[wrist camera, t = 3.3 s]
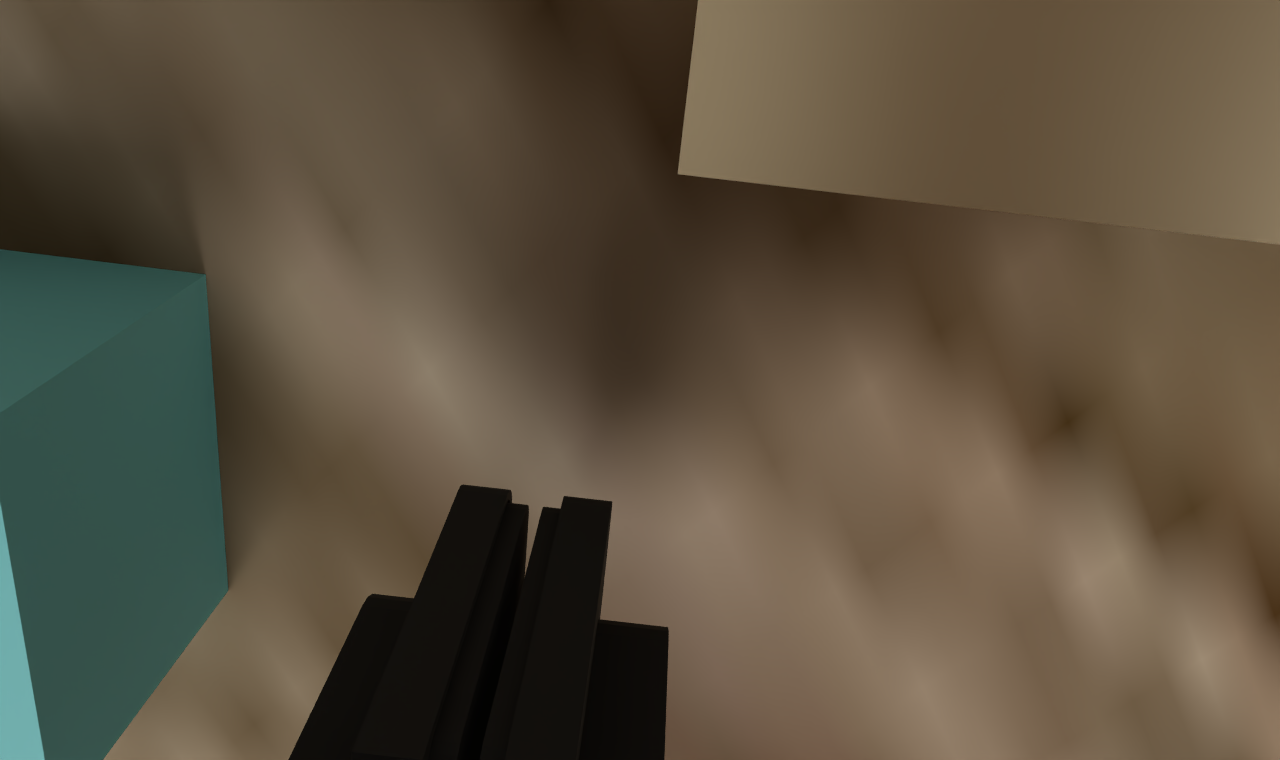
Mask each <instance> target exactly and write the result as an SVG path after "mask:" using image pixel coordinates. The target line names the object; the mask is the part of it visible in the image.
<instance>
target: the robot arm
mask: <svg viewBox="0 0 1280 760" xmlns="http://www.w3.org/2000/svg"><path fill="white" fill-rule="evenodd" d="M611 510H612V501H603V500H594V499H585V498H577V497H568V496H564V498H563V501H562V506H561V509H558V508H549V507H543V509H542V512H541V516H540V520H539V524H538V528H537V532H536V536H535V540H534V544H533V548H532V551H531V555H530V559H529V563H528V567H527V571H526V575H525V562H526V547H527V533H528V517H529V507H528V505H523V504H514V503H512V493H511V490H506V489H497V488H488V487H479V486H471V485H461V486H460V488H459V490H458V492H457V495H456V497H455V500H454V502H453V505H452V507H451V509H450V512H449V514H448V517H447V519H446V522H445V524H444V527H443V529H442V531H441V534H440V536H439V539H438V541H437V544H436V546H435V549H434V551H433V553H432V556H431V558H430V561H429V563H428V566H427V568H426V571H425V573H424V575H423V578H422V580H421V583H420V585H419V588H418V590H417V593H416V595H415V597H414V598H405V597H396V596H388V595H379V594H372V595H370V596H368V597H367V599H366V601H365V602H364V604H363V606H362V608H361V610H360V612H359V614H358V616H357V618H356V620H355V622H354V624H353V626H352V628H351V630H350V633H349V635H348V637H347V639H346V641H345V643H344V645H343V647H342V649H341V651H340V653H339V656H338V658H337V660H336V662H335V664H334V666H333V668H332V670H331V672H330V674H329V676H328V678H327V681H326V683H325V685H324V687H323V689H322V691H321V693H320V695H319V697H318V699H317V701H316V703H315V706H314V708H313V710H312V712H311V714H310V716H309V718H308V720H307V722H306V724H305V726H304V729H303V731H302V733H301V735H300V737H299V739H298V741H297V743H296V745H295V747H294V749H293V751H292V754H291V756H290V758H289V760H664V754H665V725H666V697H667V668H668V635H669V631H668V627H661V626H652V625H643V624H635V623H626V622H617V621H608V620H600V614H601V605H602V596H603V586H604V577H605V567H606V558H607V548H608V539H609V530H610V520H611ZM524 577H525V579H524Z"/></svg>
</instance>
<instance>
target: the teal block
mask: <svg viewBox="0 0 1280 760" xmlns="http://www.w3.org/2000/svg"><path fill="white" fill-rule="evenodd" d="M227 591H228V579H227V565H226V551H225V537H224V524H223V510H222V496H221V482H220V468H219V454H218V440H217V426H216V412H215V398H214V384H213V370H212V356H211V342H210V328H209V314H208V300H207V287H206V274H198V273H190V272H182V271H174V270H166V269H157V268H149V267H141V266H133V265H125V264H117V263H108V262H100V261H92V260H84V259H76V258H68V257H59V256H51V255H43V254H35V253H27V252H19V251H10V250H2V249H0V760H103V759H104V757H105V756H106V755H107V753H108V752H109V751H110V749H111V748H112V747H113V745H114V744H115V743H116V741H117V740H118V739H119V737H120V736H121V735H122V733H123V732H124V730H125V729H126V728H127V726H128V725H129V724H130V722H131V721H132V720H133V718H134V717H135V716H136V714H137V713H138V712H139V710H140V709H141V708H142V706H143V705H144V703H145V702H146V701H147V699H148V698H149V697H150V695H151V694H152V693H153V691H154V690H155V689H156V687H157V686H158V685H159V683H160V682H161V681H162V679H163V678H164V677H165V675H166V674H167V672H168V671H169V670H170V668H171V667H172V666H173V664H174V663H175V662H176V660H177V659H178V658H179V656H180V655H181V654H182V652H183V651H184V650H185V648H186V647H187V645H188V644H189V643H190V641H191V640H192V639H193V637H194V636H195V635H196V633H197V632H198V631H199V629H200V628H201V627H202V625H203V624H204V623H205V621H206V620H207V618H208V617H209V616H210V614H211V613H212V612H213V610H214V609H215V608H216V606H217V605H218V604H219V602H220V601H221V600H222V598H223V597H224V596H225V594H226V593H227Z"/></svg>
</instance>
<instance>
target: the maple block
mask: <svg viewBox="0 0 1280 760" xmlns="http://www.w3.org/2000/svg"><path fill="white" fill-rule="evenodd" d="M678 174H681V175H689V176H698V177H706V178H715V179H724V180H732V181H741V182H749V183H758V184H766V185H775V186H783V187H792V188H800V189H809V190H817V191H826V192H834V193H843V194H852V195H860V196H869V197H877V198H886V199H894V200H903V201H911V202H920V203H928V204H937V205H945V206H954V207H962V208H971V209H980V210H988V211H997V212H1005V213H1014V214H1022V215H1031V216H1039V217H1048V218H1056V219H1065V220H1073V221H1082V222H1090V223H1099V224H1108V225H1116V226H1125V227H1133V228H1142V229H1150V230H1159V231H1167V232H1176V233H1184V234H1193V235H1201V236H1210V237H1218V238H1227V239H1236V240H1244V241H1253V242H1261V243H1270V244H1278V245H1280V0H698V6H697V14H696V23H695V31H694V40H693V48H692V57H691V65H690V73H689V82H688V90H687V99H686V107H685V116H684V124H683V133H682V141H681V150H680V158H679V167H678Z"/></svg>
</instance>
